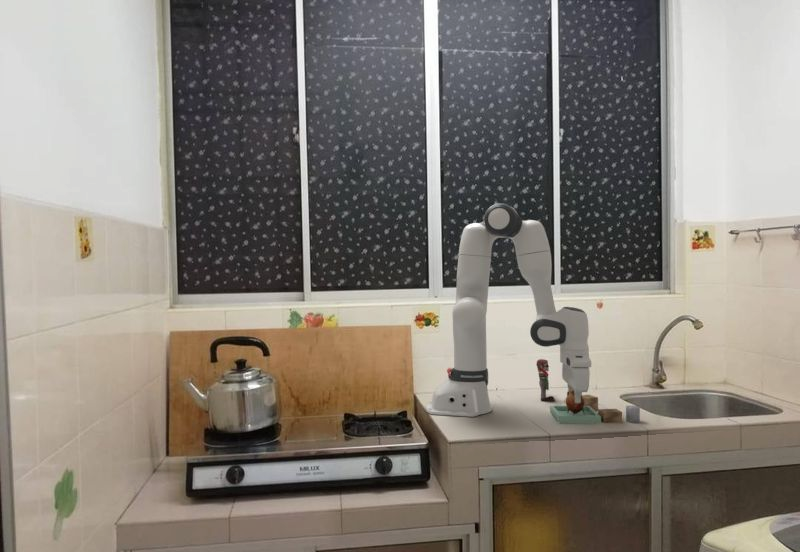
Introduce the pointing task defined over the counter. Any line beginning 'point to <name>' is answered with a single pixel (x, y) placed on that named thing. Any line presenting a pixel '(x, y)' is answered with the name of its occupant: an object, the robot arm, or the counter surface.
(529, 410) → the counter surface
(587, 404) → the oak cube
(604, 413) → the walnut block
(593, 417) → the tray
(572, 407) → the pot
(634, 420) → the blue-grey cube
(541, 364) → the toy
